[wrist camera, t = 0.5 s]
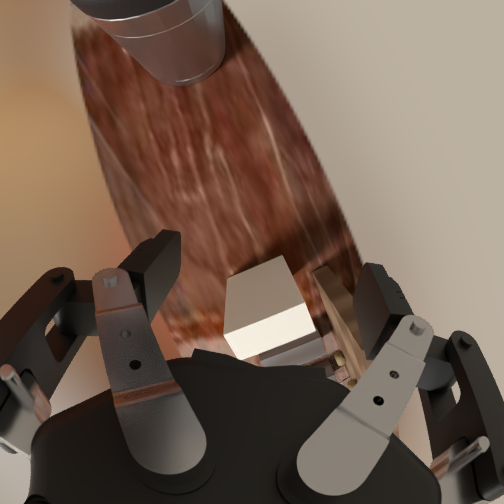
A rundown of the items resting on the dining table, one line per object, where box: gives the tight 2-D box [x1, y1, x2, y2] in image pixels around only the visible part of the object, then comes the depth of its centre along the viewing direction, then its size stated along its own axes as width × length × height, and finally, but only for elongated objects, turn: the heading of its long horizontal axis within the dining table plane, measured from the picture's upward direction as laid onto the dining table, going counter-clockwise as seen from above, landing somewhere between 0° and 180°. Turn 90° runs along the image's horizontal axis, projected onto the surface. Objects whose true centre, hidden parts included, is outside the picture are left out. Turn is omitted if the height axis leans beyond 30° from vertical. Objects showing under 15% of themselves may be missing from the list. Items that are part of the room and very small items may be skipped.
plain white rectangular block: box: [223, 255, 316, 360], centre depth 29 cm, size 3×7×12 cm, turn 113°
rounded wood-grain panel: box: [259, 266, 399, 438], centre depth 30 cm, size 17×12×16 cm
